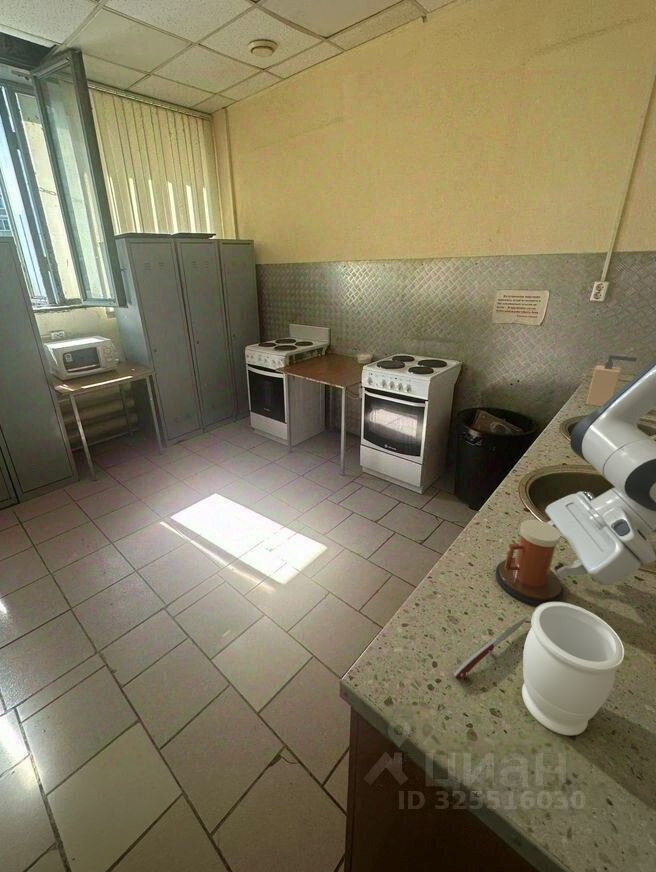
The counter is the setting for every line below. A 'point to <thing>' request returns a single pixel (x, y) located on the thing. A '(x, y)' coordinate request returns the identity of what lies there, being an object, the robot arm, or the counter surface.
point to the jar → (568, 666)
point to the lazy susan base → (523, 598)
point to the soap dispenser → (605, 381)
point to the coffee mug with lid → (532, 562)
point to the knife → (484, 652)
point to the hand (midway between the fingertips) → (547, 555)
